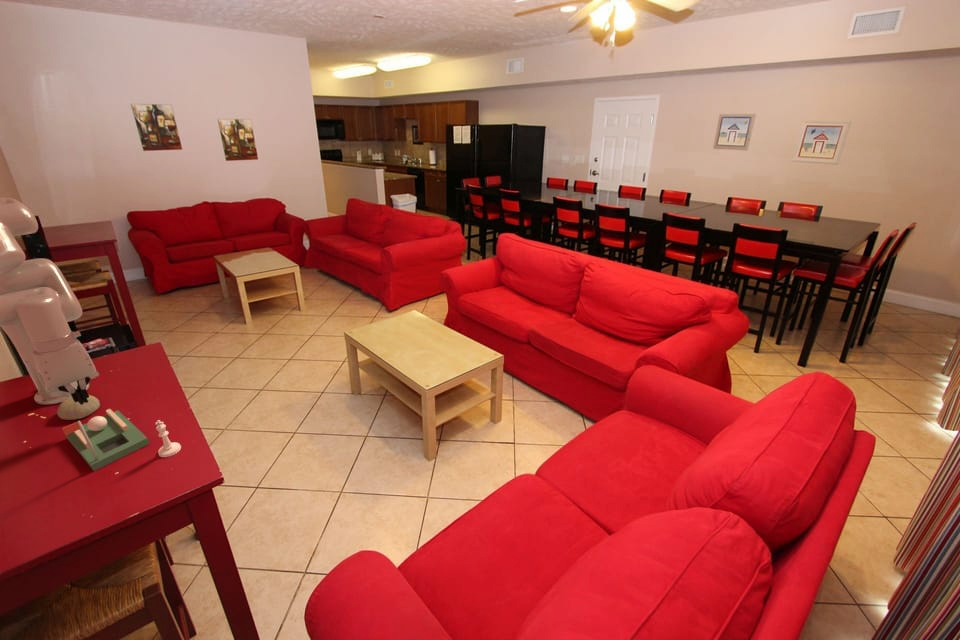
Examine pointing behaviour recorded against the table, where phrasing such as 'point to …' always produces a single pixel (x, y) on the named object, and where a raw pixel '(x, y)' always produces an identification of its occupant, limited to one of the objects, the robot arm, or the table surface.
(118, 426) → the mat
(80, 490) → the table surface
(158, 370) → the table surface
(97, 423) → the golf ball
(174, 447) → the chess piece
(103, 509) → the table surface
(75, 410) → the sea urchin shell
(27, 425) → the table surface
